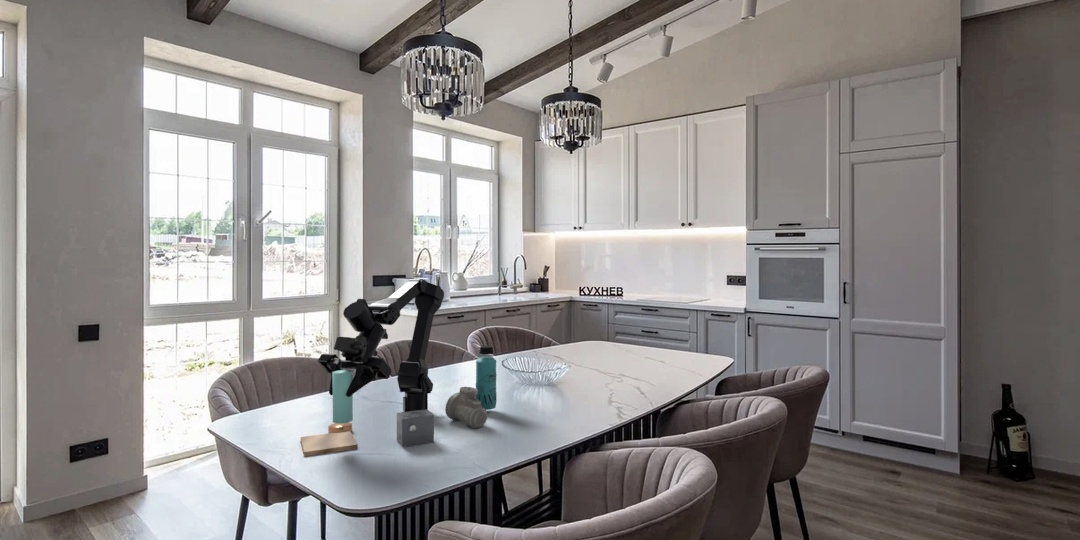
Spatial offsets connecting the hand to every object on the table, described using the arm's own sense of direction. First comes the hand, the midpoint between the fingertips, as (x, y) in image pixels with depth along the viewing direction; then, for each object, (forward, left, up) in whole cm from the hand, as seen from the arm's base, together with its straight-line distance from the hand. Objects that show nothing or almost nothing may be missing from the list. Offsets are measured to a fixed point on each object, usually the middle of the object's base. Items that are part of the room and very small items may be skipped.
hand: (338, 395), depth 135 cm
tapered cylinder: (-1, -1, -7) cm, 7 cm away
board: (+2, -5, -13) cm, 14 cm away
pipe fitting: (-35, -6, -14) cm, 38 cm away
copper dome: (-2, -14, -14) cm, 20 cm away
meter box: (-18, +2, -13) cm, 23 cm away
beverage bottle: (-44, -15, -14) cm, 49 cm away
